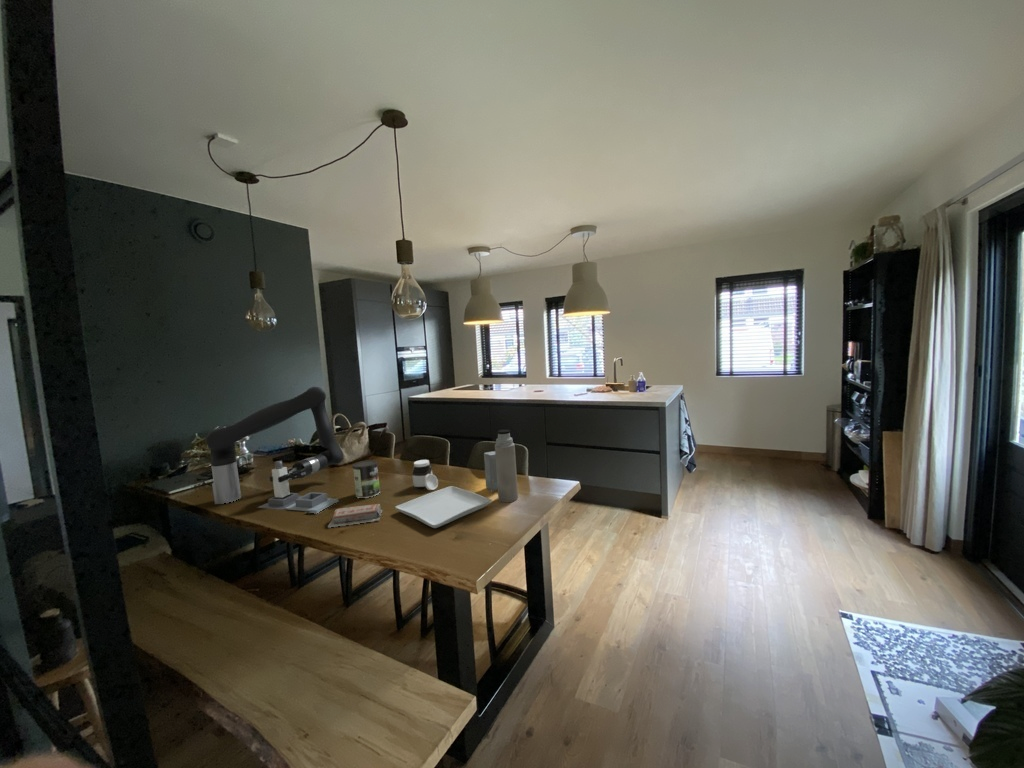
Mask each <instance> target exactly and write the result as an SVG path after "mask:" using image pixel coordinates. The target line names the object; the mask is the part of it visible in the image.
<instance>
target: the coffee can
mask: <svg viewBox="0 0 1024 768" xmlns="http://www.w3.org/2000/svg"><path fill="white" fill-rule="evenodd" d="M378 467H379V466H378V461H377V460H375V459H374V460H373V459H371V460H370V459H368V460H361V461H358V462H356V463H353V464H352V471H353V479H354V480H353V482H354V490H355V497H357V499H359V498H365V499H370V498H369V497H371V498H373V496H374V497H376V495H377V496H379V495H380V494H381V489H380V479H379V469H378ZM379 493H380V494H379Z"/></svg>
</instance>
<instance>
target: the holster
mask: <svg viewBox="0 0 1024 768" xmlns="http://www.w3.org/2000/svg"><path fill="white" fill-rule="evenodd" d="M302 496H303V495H299V493H298V492H290V494H289V495H287V496H285V497H283V498H279V497H275V495H274V496H272V497H270V498H267V503H264V504H262V505H259V506H257V507H256V508H257V509H258V508H259V509H260V508H261V509H270V510H271V509H272V510H286V509H285V508H286V507H288V506H290V505H292V504H294V503H296V502H295V500H296V499H298V498H300V497H302Z"/></svg>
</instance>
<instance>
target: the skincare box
mask: <svg viewBox="0 0 1024 768" xmlns="http://www.w3.org/2000/svg"><path fill="white" fill-rule="evenodd" d="M483 459H484V460H483V461H484V475H485V488H487V490H489V491H490V492H491V493H492V492H498V486H497V472H496V457H495V450H494V451H487V452H484V453H483Z"/></svg>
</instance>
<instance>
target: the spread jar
mask: <svg viewBox="0 0 1024 768" xmlns="http://www.w3.org/2000/svg"><path fill="white" fill-rule="evenodd" d="M411 477H412V484H413V487H414V489H416V490H420V491H421V490H426V489H427V491H434V490H436V489H437V488H438V486H439V480H438V477H437V476H436V475H435V474H433V469H432V466H431V465H430V460H429V459H420V460H416V461H414V462H413V469H412V476H411Z"/></svg>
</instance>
